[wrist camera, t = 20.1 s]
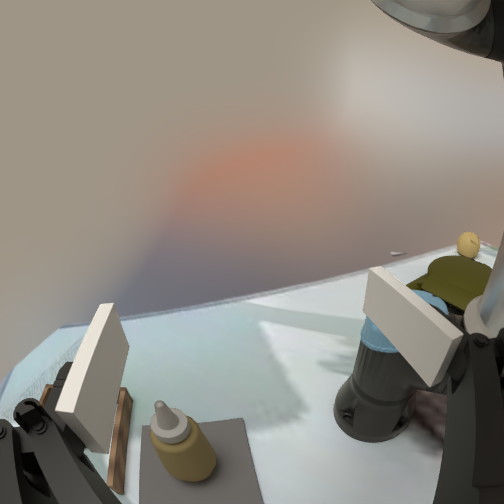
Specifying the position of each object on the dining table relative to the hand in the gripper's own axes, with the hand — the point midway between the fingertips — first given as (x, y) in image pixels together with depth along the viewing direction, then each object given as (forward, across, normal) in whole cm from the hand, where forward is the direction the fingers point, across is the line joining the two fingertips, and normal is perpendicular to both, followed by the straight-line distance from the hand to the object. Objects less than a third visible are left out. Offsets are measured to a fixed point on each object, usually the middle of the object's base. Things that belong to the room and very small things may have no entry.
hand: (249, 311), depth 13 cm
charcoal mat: (+8, -9, -35) cm, 37 cm away
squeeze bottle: (+8, -9, -34) cm, 36 cm away
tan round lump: (+58, +106, -35) cm, 126 cm away
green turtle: (+36, +75, -36) cm, 90 cm away
